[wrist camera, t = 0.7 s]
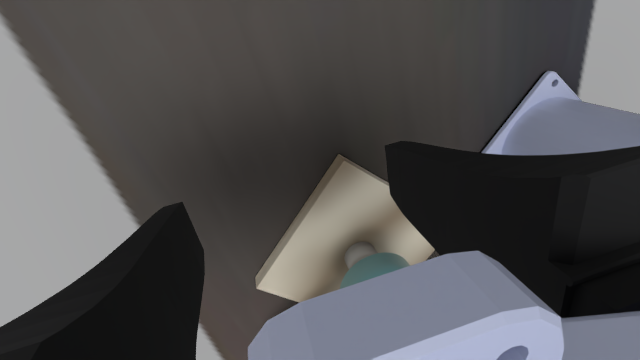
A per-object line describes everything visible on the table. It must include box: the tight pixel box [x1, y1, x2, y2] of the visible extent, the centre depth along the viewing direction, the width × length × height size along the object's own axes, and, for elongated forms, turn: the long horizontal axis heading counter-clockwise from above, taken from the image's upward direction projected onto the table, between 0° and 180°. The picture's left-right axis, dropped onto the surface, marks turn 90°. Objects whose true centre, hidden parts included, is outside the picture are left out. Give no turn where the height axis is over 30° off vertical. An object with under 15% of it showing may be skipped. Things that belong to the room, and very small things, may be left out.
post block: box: [255, 154, 435, 303], centre depth 24 cm, size 11×11×4 cm
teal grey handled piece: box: [340, 252, 410, 289], centre depth 21 cm, size 12×5×3 cm, turn 131°
